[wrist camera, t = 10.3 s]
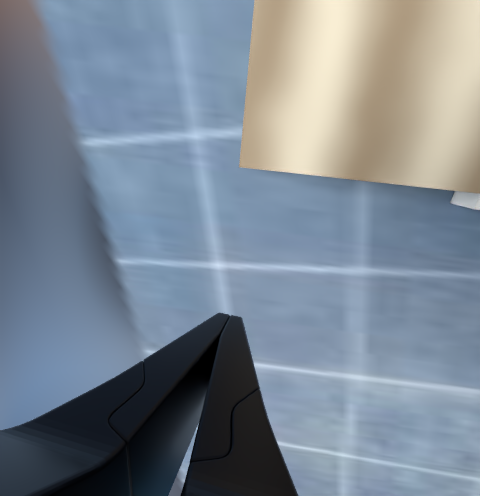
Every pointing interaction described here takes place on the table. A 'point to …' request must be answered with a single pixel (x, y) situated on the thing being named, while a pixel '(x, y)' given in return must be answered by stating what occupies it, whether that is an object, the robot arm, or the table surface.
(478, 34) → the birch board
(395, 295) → the table surface
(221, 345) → the robot arm
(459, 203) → the tray
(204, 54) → the table surface
